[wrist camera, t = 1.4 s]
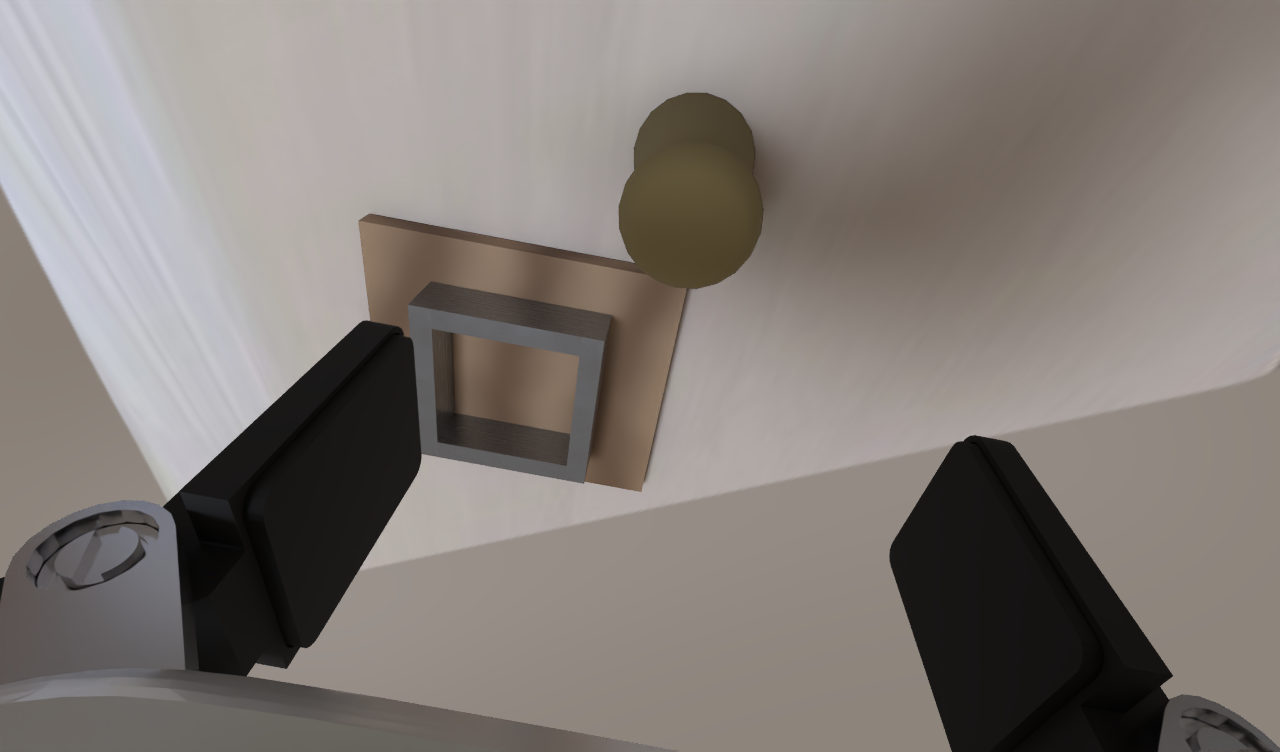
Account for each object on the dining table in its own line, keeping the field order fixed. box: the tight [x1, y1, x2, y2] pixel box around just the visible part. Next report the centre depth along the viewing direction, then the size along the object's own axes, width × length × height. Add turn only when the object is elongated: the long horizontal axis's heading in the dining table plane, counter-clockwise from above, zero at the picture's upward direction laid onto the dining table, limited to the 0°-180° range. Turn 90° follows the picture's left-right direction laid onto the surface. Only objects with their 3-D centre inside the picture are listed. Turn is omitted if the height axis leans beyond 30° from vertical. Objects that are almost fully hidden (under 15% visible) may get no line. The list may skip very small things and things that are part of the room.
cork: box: [619, 93, 764, 289], centre depth 24 cm, size 6×6×11 cm
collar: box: [408, 281, 612, 483], centre depth 34 cm, size 10×10×3 cm
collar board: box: [359, 214, 687, 492], centre depth 36 cm, size 18×16×1 cm
